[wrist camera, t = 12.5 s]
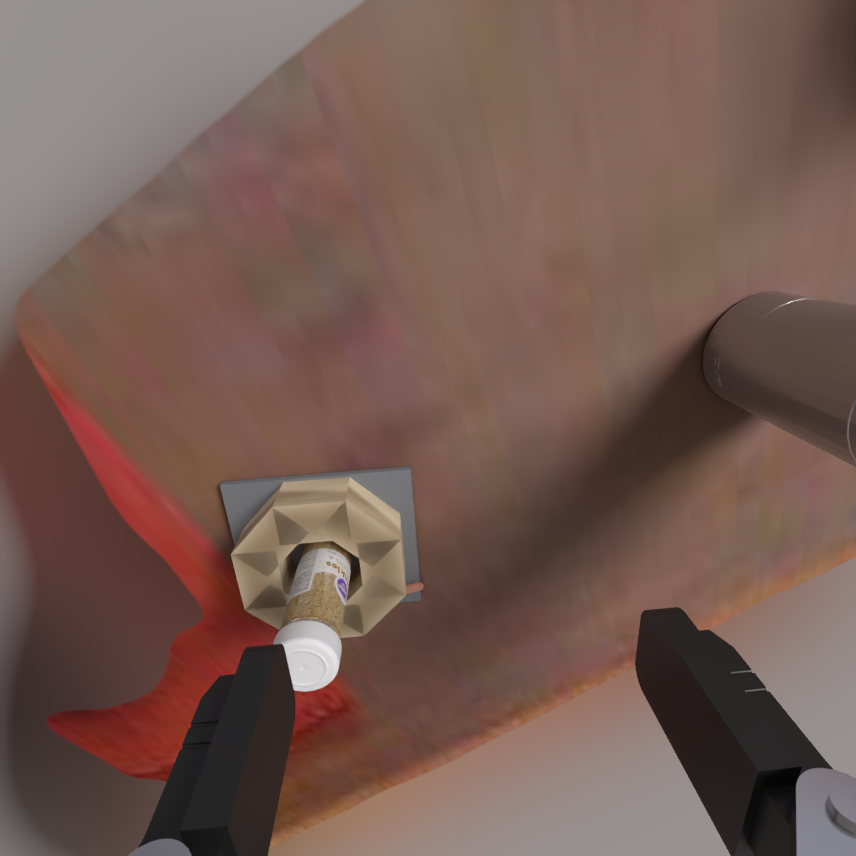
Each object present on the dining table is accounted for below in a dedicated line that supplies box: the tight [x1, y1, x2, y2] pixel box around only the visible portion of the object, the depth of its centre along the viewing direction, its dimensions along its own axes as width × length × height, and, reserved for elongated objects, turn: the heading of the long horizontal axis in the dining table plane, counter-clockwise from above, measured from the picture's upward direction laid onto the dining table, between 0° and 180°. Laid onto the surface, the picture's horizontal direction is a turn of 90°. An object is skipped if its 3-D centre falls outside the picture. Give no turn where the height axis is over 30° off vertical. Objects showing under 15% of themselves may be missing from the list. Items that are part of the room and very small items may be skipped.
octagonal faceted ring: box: [231, 477, 406, 638], centre depth 43 cm, size 14×14×4 cm
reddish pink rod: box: [406, 582, 424, 594], centre depth 46 cm, size 13×1×1 cm, turn 104°
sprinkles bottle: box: [273, 541, 354, 692], centre depth 38 cm, size 5×5×13 cm
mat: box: [220, 466, 422, 617], centre depth 45 cm, size 16×14×1 cm
